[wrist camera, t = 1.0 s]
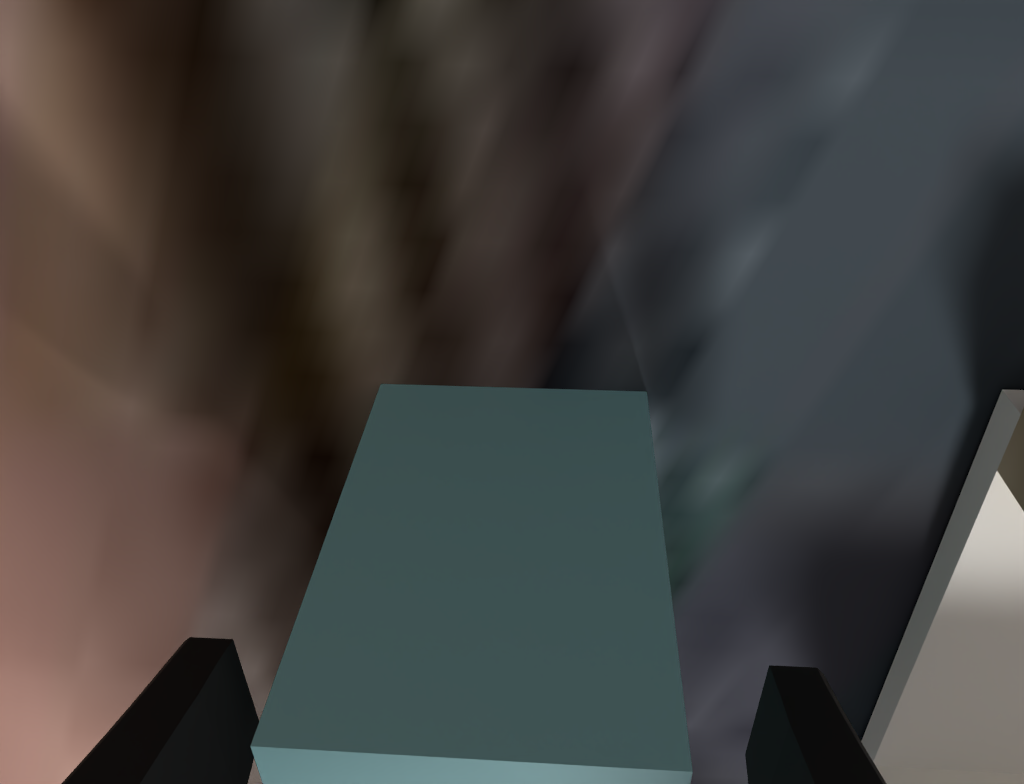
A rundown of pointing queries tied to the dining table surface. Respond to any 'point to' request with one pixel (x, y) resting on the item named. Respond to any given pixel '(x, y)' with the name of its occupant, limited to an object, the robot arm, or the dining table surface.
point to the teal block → (487, 602)
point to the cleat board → (965, 635)
